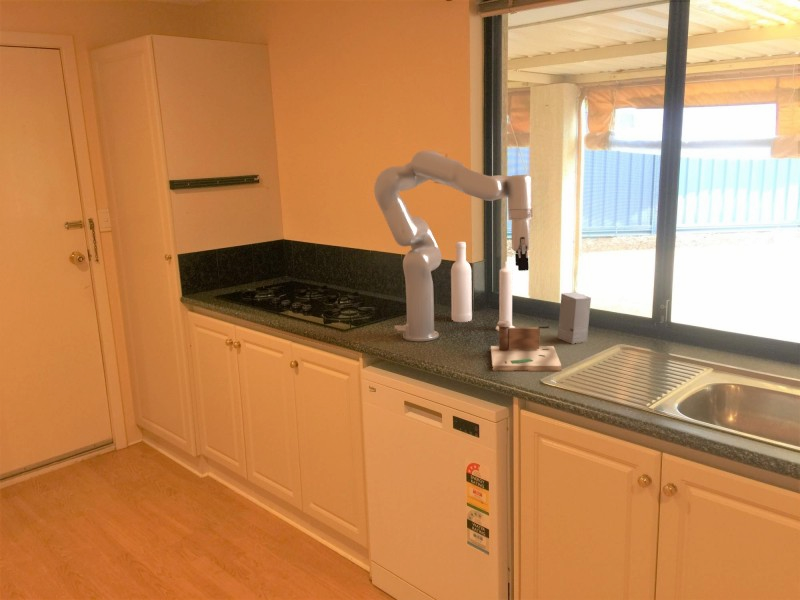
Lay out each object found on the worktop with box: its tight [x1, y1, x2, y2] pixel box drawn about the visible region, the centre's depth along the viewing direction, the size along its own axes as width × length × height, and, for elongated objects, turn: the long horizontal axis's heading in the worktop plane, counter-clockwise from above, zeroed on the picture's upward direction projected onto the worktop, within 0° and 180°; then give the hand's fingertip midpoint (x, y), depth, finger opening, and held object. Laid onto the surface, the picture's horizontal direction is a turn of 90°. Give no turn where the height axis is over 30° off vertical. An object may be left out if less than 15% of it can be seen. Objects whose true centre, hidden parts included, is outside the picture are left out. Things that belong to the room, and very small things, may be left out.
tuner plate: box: [490, 345, 563, 372], centre depth 208 cm, size 20×20×2 cm
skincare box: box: [557, 292, 592, 345], centre depth 226 cm, size 8×7×16 cm
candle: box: [495, 260, 516, 332], centre depth 241 cm, size 7×7×25 cm
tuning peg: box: [497, 320, 550, 351], centre depth 213 cm, size 16×4×9 cm, turn 84°
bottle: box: [450, 241, 473, 323], centre depth 256 cm, size 8×8×30 cm
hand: (522, 267), depth 217 cm, fingers open, 9 cm apart
